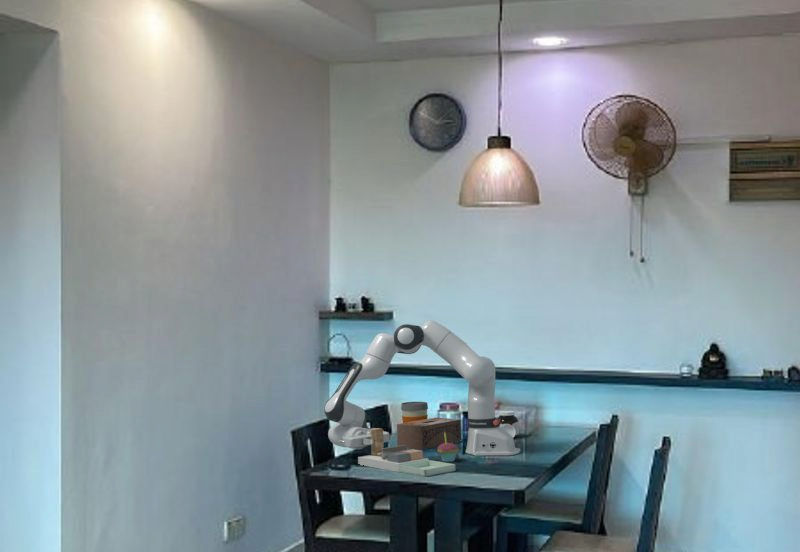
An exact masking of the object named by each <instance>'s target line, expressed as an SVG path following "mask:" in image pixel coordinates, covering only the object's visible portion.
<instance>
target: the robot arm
mask: <svg viewBox="0 0 800 552" xmlns="http://www.w3.org/2000/svg"><path fill="white" fill-rule="evenodd" d="M422 346H423V347H424V346H425V347H427V348H429V349H430V350H431V351H433V352H434V353H435V354H436V355H438V356H439V357H440V358H442V359H443V360H444V361H445V362H447V363H448V364H449V365H450V366H451V367H452V369H454V370H455V371H456V372H457V373H458V374H459V375H461V377H462V378H463V379H465V380H466V381H467V382H468V391H467V392H468V393H467V418H466V419H467V421H466V428H467V429H466V430H467V443H466V449H465V453H466V454H469V455H473V456H475V457H476V456H477V457H478V456H514V455H515V456H516V455H518V454H520V452H521V448H519V447H516V444H515V440H514V439H515V438H513V437H512V436H511V435H510V434H509V433H507V432H506V431H505V430H503V429H502V428H501V427H500V419H497V418H498V417H496V409H495V408H496V407H495V391H496V366H495V363H494V362H493V360H492V359H491V358H489V357H487V356H482V355H479V354H478V353H476V352H475V351H474V350H473V348H471V347H470V346H469V345H468V343H467V342H465V340H463V339H461V337H459V336H458V335H456V334H455V333H453V332H452V331H451V330H450V329H448V328H447V327H446V326H444V325H442V324H441V323H439V322H437V321H435V320H427V321H426V322H425V323H423V324H422V325H421V326H419V325H414V324H409V323H407V324H402V325H399V326H398V327H397V328H396V329H395V330H394V333H393V334H389V333H385V332H381V333H378V334H376V335H375V336H374V339H373V340H372V342H371V343H370V345H369V346H368V348H367V350H366V352H365V354H364V356H363V358H362V359H360V360H359V362H356V363H354V364H353V365H352V366H351V367H350V368H349V369H348V371H347V372H346V374H345V376H344V377H343V379H342V380H341V382H340V384H339V385H338V387H336V389H335V391H334V393H333V394H332V395H331V397H329V399H328V400H327V401H326V402H325V405H324V407H323V409H324V415H325V417H326V419H327V421H330V422H334V423H335V425H332V426H331V427H330V428H329V429H328V431H327V432H328V433H327V435H328V439H329V441H330V443H332V444H334V445H335V446H336V447H337V446H338V447H341V448H348V449H354V450H362V449H365V448H366V447H368V446H371V445H372V444H375V440H373V439H371V429H375V427H364V426H365V424H366V421H367V420H366V416H367V415H366V411H365V409H364V408H362V407H361V406H359V405H357V404H354V403H353V402H352V403H351V402H350V401H348V400H347V398H348V397H349V395H350V394H351V392H352V390H354V387H355V386H356V384H357V383H358V382H360V381H363V380H365V381H366V380H378V379H380V378H382V377H384V376H385V375H386V373H387V371H388V369H389V367H390V365H391V363H392V360H393V358H394V356H395V355H396V354H403V355H413V354H415V353H416V352H418V351H419V350H420V349H421V347H422ZM390 439H391V437H390V432H388V431H384V430H383V444H384V443H389V442H390Z"/></svg>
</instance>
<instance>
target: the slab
mask: <svg viewBox="0 0 800 552" xmlns="http://www.w3.org/2000/svg"><path fill="white" fill-rule="evenodd" d="M426 460H430V459H429V458H428V457H423V459H418V460H412V461H406V462H401V463H395V462H389V461H388V459H382V456H379V455H372V454H369V455H363V456H362V455H361V456H358V457H357V464H360V465H359V466H363V465H364V467H368V468H369V467H370V468H375V469H380V470H387V471H391V472H395V473H396V472H398V473H400V472H399V465H404V464H409V463H415V462H420V461H426Z"/></svg>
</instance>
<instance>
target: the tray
mask: <svg viewBox="0 0 800 552" xmlns="http://www.w3.org/2000/svg"><path fill="white" fill-rule="evenodd" d="M456 465H457V464H455V463H450V462H444V461H439V460H438V461H437V460H430V459H429V460H426V461H420V462H415V463H409V464H404V465H399V472H398V473H403V474H408V475H415V476H420V477H426V478H427V477H432V476H437V475H442V474H443V475H444V474H447V473H452V472H453V473H454V472H456V469H457V468H456Z"/></svg>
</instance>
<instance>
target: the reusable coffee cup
mask: <svg viewBox="0 0 800 552" xmlns="http://www.w3.org/2000/svg"><path fill="white" fill-rule="evenodd" d="M428 409H429V406H428V402H427V401H408V402H407V401H405V402H401V407H400V410H401V413H402V414H401V417H402V418H401V420H402V423H407V422H413V421H419V420H424V419H428V416H429V415H428Z"/></svg>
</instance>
